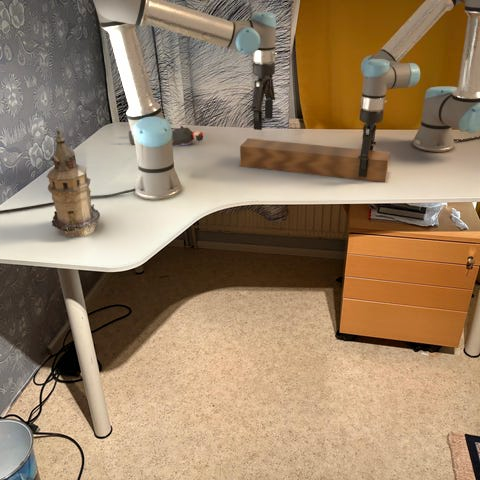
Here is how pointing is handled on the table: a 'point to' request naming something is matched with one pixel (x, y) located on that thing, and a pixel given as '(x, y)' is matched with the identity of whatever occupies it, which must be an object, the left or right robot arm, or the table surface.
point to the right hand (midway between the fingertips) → (365, 169)
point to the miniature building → (70, 193)
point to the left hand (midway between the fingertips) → (263, 123)
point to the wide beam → (312, 159)
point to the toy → (179, 136)
